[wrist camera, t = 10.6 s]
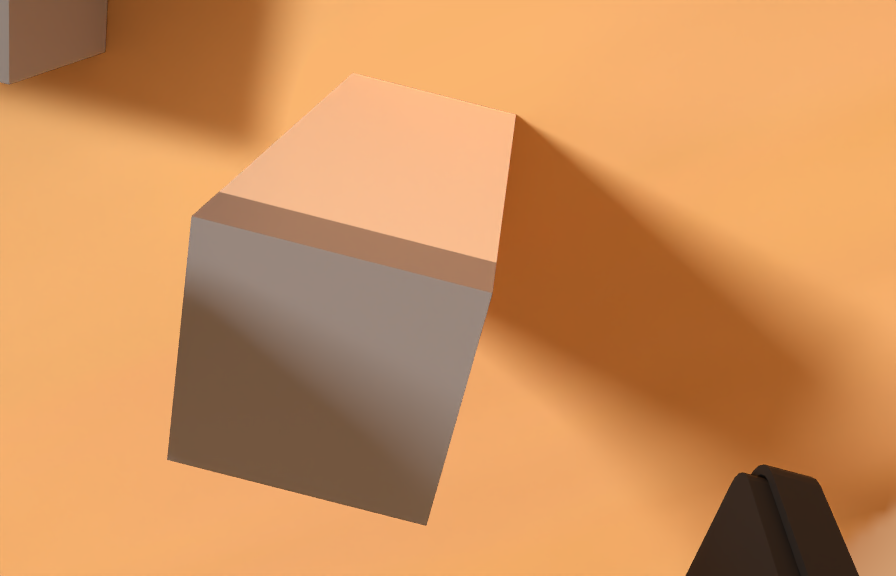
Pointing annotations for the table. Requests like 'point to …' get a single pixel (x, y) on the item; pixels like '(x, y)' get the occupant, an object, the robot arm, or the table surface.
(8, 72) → the socket housing
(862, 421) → the table surface
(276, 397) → the plug
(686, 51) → the table surface
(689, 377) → the table surface
